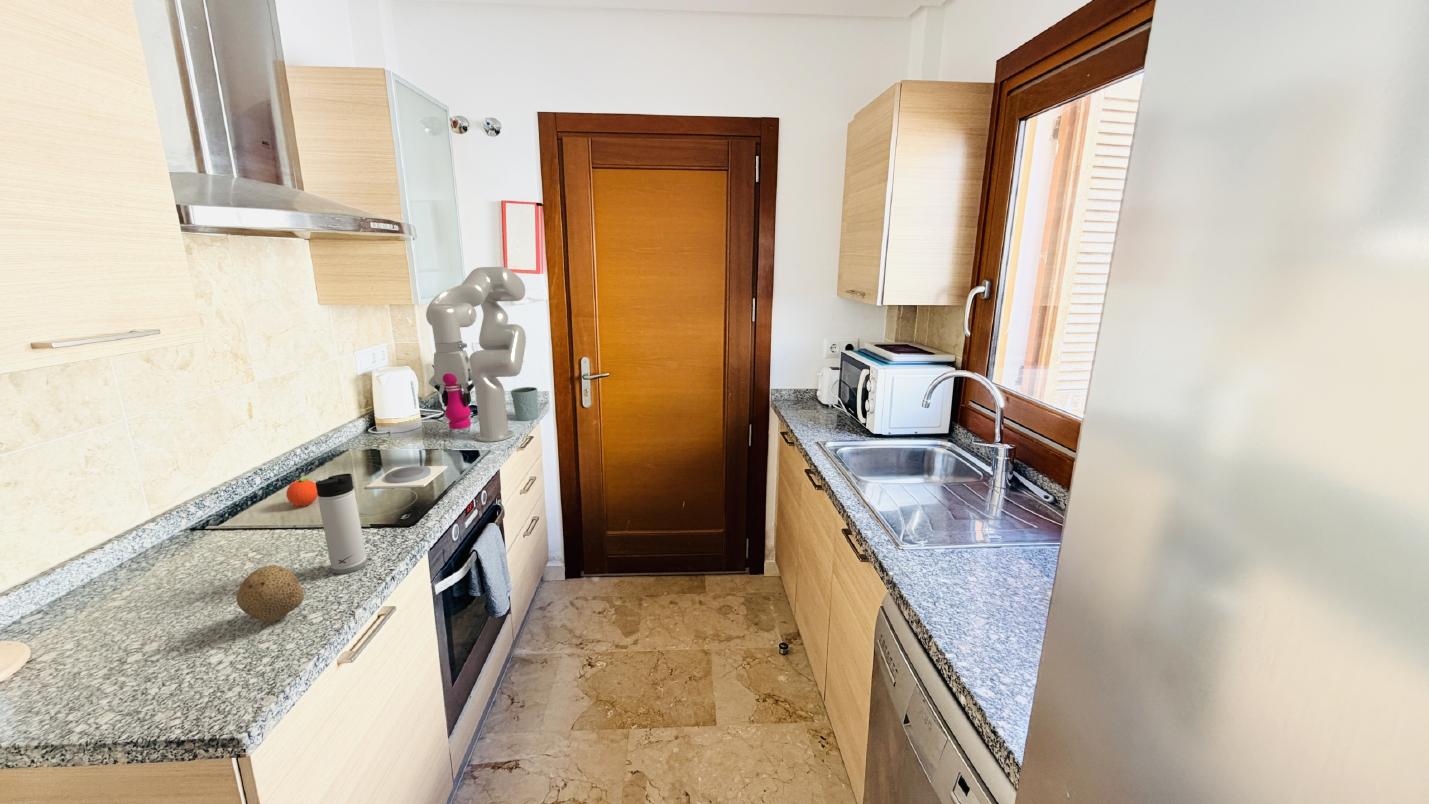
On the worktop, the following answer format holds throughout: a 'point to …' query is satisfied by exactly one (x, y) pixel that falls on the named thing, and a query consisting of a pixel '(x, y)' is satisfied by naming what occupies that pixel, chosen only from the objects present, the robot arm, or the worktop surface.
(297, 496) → the clementine
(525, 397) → the green plant pot
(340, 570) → the travel mug
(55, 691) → the worktop surface
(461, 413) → the pepper mill
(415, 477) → the cream square board
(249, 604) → the brown potato
